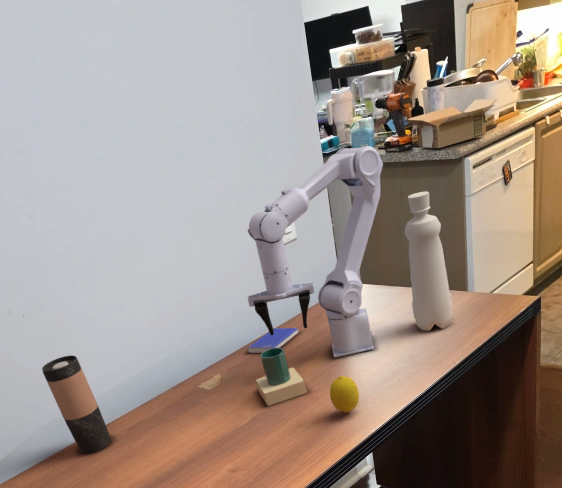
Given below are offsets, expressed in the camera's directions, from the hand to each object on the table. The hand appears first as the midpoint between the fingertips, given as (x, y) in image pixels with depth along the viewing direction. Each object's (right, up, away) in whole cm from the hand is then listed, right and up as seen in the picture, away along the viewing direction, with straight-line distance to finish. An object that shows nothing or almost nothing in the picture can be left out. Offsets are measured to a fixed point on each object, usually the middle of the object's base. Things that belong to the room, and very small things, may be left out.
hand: (288, 330), depth 147 cm
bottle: (+35, +3, +10) cm, 37 cm away
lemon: (+12, -20, -18) cm, 29 cm away
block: (-1, -14, -2) cm, 14 cm away
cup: (-2, -12, -4) cm, 12 cm away
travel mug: (-43, -26, -2) cm, 50 cm away
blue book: (-4, +2, +26) cm, 26 cm away
